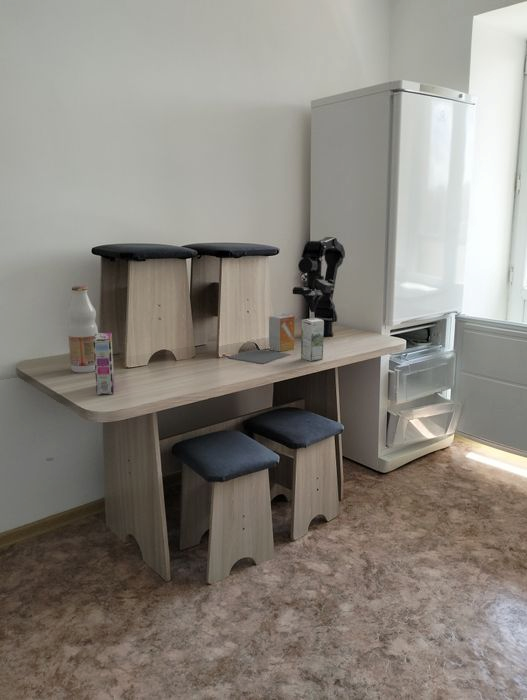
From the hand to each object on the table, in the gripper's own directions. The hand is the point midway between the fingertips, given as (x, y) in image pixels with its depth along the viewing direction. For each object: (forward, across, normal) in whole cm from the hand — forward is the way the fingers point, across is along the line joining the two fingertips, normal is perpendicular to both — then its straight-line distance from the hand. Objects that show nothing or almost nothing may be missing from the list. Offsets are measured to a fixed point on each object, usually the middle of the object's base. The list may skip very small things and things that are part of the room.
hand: (312, 312), depth 229 cm
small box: (+14, -16, +1) cm, 22 cm away
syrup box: (+15, -20, -18) cm, 31 cm away
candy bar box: (+19, -91, -1) cm, 93 cm away
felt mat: (+15, -31, -2) cm, 34 cm away
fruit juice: (+18, -85, +25) cm, 90 cm away
